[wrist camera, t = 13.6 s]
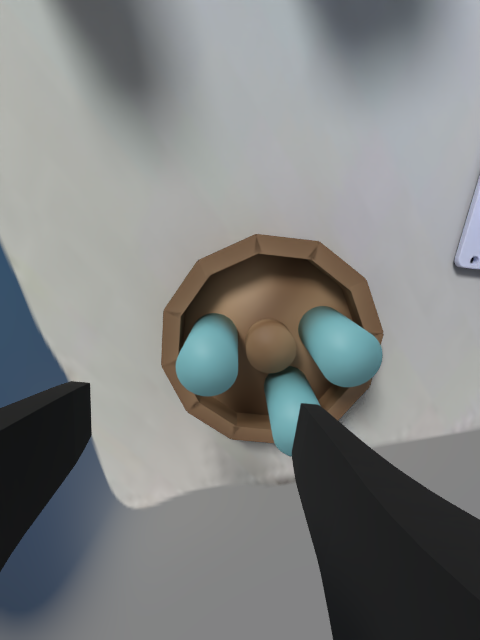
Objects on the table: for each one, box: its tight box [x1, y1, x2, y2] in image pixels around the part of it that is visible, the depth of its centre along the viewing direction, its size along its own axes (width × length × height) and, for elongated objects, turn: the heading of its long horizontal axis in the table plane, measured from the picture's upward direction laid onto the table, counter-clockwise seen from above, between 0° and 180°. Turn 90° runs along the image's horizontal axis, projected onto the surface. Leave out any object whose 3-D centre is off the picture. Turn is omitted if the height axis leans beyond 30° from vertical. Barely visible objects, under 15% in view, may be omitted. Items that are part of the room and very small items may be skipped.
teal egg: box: [176, 313, 238, 396], centre depth 16 cm, size 3×3×5 cm
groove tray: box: [161, 234, 383, 443], centre depth 18 cm, size 13×13×2 cm
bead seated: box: [298, 306, 382, 387], centre depth 16 cm, size 3×3×5 cm
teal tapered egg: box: [264, 366, 320, 456], centre depth 17 cm, size 3×3×5 cm
